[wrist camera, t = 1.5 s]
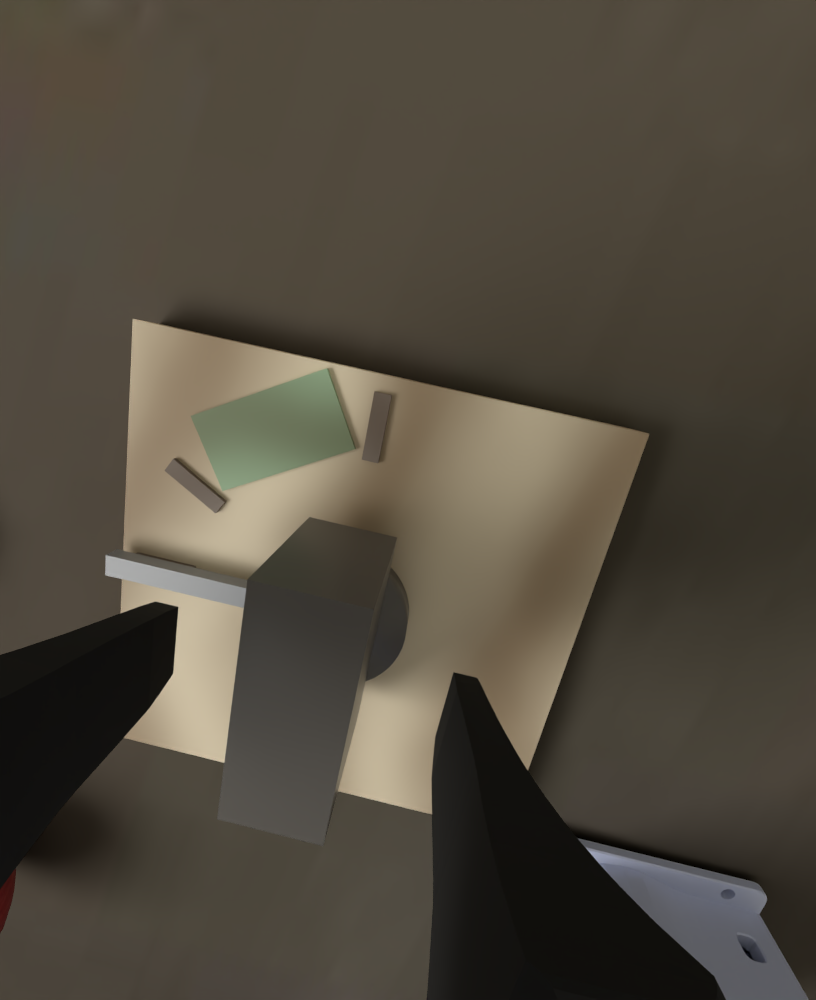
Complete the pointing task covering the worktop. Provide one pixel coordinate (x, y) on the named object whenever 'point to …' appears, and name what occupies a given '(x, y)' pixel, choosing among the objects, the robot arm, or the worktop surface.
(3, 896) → the onion
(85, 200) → the worktop surface
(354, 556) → the dark angled piece
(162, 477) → the board
